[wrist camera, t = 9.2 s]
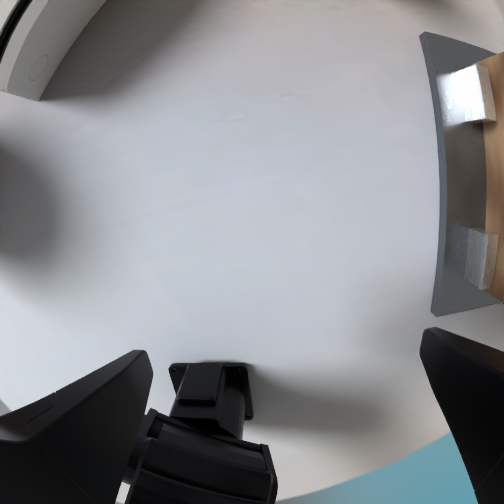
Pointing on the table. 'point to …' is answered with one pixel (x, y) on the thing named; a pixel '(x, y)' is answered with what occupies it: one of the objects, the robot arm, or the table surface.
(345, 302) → the table surface
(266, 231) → the table surface
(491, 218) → the cabinet door
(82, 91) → the table surface
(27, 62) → the white curved block
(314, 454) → the table surface
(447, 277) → the plate
